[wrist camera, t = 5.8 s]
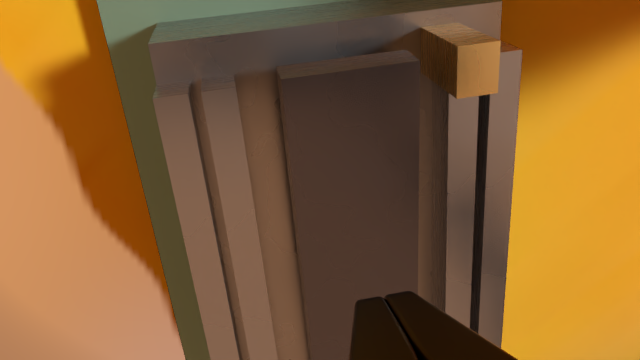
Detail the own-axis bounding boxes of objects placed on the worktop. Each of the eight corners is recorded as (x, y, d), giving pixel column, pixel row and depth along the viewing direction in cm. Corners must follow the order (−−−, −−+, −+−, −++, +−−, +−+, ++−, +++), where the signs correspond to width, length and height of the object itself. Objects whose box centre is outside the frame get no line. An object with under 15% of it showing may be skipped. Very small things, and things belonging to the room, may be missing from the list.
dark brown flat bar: (417, 425, 20) (427, 449, 19) (308, 448, 20) (313, 475, 19) (422, 47, 14) (436, 58, 13) (258, 68, 13) (263, 81, 12)
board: (475, 377, 25) (480, 387, 25) (206, 433, 24) (206, 445, 23) (496, -89, 17) (506, -89, 17) (89, -48, 16) (85, -47, 15)
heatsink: (448, 376, 24) (508, 491, 19) (239, 420, 23) (247, 552, 18) (456, -12, 17) (553, 15, 12) (157, 22, 16) (136, 68, 11)
